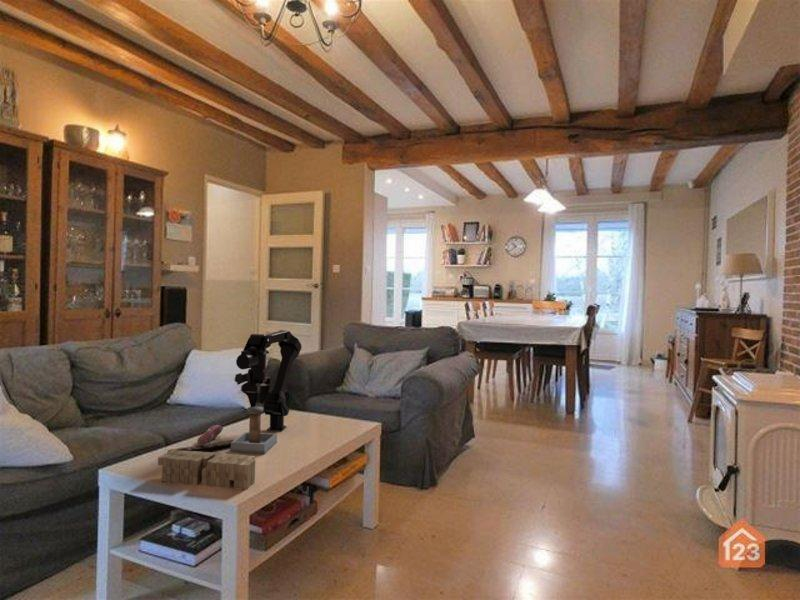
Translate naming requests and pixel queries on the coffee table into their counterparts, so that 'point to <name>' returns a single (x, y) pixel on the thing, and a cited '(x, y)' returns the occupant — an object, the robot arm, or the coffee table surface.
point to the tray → (253, 444)
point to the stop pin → (255, 424)
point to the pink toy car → (210, 434)
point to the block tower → (208, 469)
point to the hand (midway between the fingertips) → (257, 405)
